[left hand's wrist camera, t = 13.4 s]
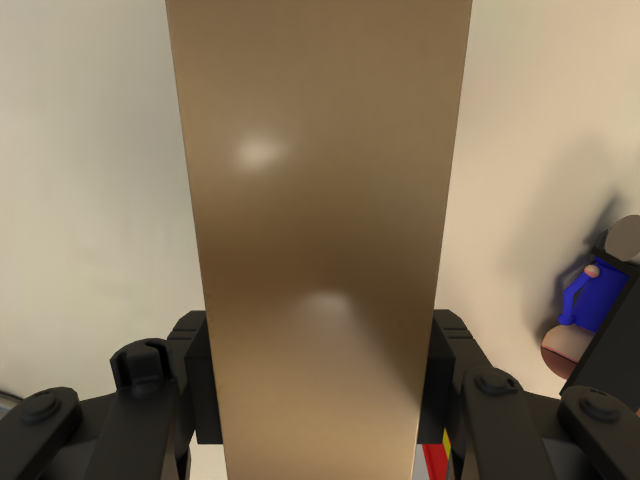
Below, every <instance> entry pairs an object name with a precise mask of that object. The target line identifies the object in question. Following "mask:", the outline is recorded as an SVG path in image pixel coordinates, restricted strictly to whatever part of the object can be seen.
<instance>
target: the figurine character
mask: <svg viewBox="0 0 640 480" xmlns="http://www.w3.org/2000/svg"><path fill="white" fill-rule="evenodd" d="M604 244H605V250H604V249H603V247H604ZM590 253H591V255H590V258H589V264H590V265H588V266H587V267H585V269H584V272H583V273H582V274H581V275H580V276H579V277H578V278H577V279H575V280H574V281H573V282H572V283H571V284H570V285H569V286H568V287H567V288H566V289H565V290H564V291H563V311H562V314H561V315H559V316H558V322H559V323H560V324H562V325H559V326H556V327H554V328H552V329H551V330H549V331H548V332H547V333H546V334H545V336H544V337H543V339H542V342H541V354H542V357H543V360H544V362H545V363H546V365H547V366H548V367H549V368H550V369H551V370H552V371H553V372H554V373H555V374H557V375H558V376H560V377H561V378H563V379H566V380H567V381H566V383H565V385H564V386H563V388H562V390H561V391H560V393H559V395H560V396H561V397H562V393H563V391H564V390H565V389H566V388H568V387H570V386H576V385H580V386H588V387H592V388H595V389H599V390H601V391H604V392H606V393H608V394H610V395H612V396H614V397H616V398H617V399H619V400H620V401H621V402H623V403H624V404H625V405H626V406H628V407H629V408H630V409H631V410H632V411H633V412H634V413H635V414H636V412H637V411H638V409H639V408H640V216H639V215H630V216H627V217H624V218H622V219H621V220H619V221H618V222H617V223H616V224H615V225H614V226H613V227H612V228H611V230H610V231H609V233H608V229H607V230H606V231H604V232H603V233H602V234H600V237H599V239H598V241H597V243H596V245H595V247H594V248H593V249H592V251H591V252H590ZM595 262H597V263H599V264H597V263H595ZM593 263H594V265H592V264H593ZM583 285H584V286H583ZM582 286H583V288H582V290H581V292H580V294H579V296H578V298H577V300H576V302H575V304H574V307H573V295H574V294H575V293H576V292H577V291H578V290H579V289H580V288H581V287H582ZM573 323H574V324H576V325H574V324H573Z"/></svg>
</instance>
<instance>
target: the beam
mask: <svg viewBox="0 0 640 480" xmlns="http://www.w3.org/2000/svg"><path fill="white" fill-rule="evenodd" d="M472 1H473V0H165V3H166V10H167V18H168V26H169V33H170V41H171V49H172V56H173V64H174V72H175V79H176V87H177V95H178V102H179V110H180V117H181V125H182V133H183V140H184V148H185V156H186V163H187V171H188V179H189V186H190V194H191V202H192V209H193V217H194V225H195V232H196V240H197V248H198V255H199V263H200V271H201V278H202V286H203V293H204V301H205V309H206V316H207V324H208V332H209V339H210V347H211V355H212V362H213V370H214V378H215V385H216V393H217V401H218V408H219V416H220V424H221V431H222V439H223V447H224V454H225V462H226V469H227V477H228V480H412V477H413V469H414V461H415V453H416V445H417V437H418V429H419V422H420V414H421V406H422V398H423V390H424V382H425V374H426V366H427V358H428V350H429V342H430V334H431V326H432V318H433V311H434V303H435V295H436V287H437V279H438V271H439V263H440V255H441V247H442V239H443V231H444V223H445V215H446V207H447V199H448V192H449V184H450V176H451V168H452V160H453V152H454V144H455V136H456V128H457V120H458V112H459V104H460V96H461V88H462V81H463V73H464V65H465V57H466V49H467V41H468V33H469V25H470V17H471V9H472Z"/></svg>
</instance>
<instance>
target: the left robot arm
mask: <svg viewBox="0 0 640 480" xmlns="http://www.w3.org/2000/svg"><path fill="white" fill-rule="evenodd" d="M110 364H111V368H112V372H113V376H114V380H115V384H116V388H117V391H116V392H115V393H112V394H108V395H105V396H100V397H96V398H92V399H87V400H83V401H79V398H78V394H77V392H75V391H74V390H73V389H72V388H67V387H57V388H50V389H47V390H44V391H40V392H38V393H35V394H33V395H31V396H30V397H28V398H26V399H24V400H22V401H21V400H19V399H16V398H13V397H11V396H8V395H4V394H0V480H189V478H190V467H191V454H190V448H189V444H190V441H191V438H192V436H193V433H194V431H196V437H197V443H198V444H223V439H222V431H221V424H220V416H219V408H218V401H217V393H216V385H215V378H214V370H213V362H212V355H211V347H210V339H209V332H208V324H207V316H206V311H190V312H189V313H187V314H186V315H185V316H183V317H182V318H180V319H179V320H178V322H177V324H176V325H175V327H174V328H173V331H172V332H171V333H170V334H169V336H168V337H167V340H163V339H160V338H147V339H143V340H138V341H135V342H133V343H130V344H128V345H126V346H124V347H122V348H121V349H120V350H118V351H117V352H116V353H115V354H114V355H113V356H112V358H111V359H110ZM444 429H445V430H446V432H447V435H448V437H449V440H450V442H451V448H450V454H449V460H448V465H447V471H446V478H445V480H450V477H451V480H640V418H639V417H638V416H637V415H636V414H635V413H634V412H633V411H632V410H631V409H630V408H629V407H628V406H626V405H625V404H624V403H623V402H621V401H620V400H619V399H617V398H616V397H614V396H612V395H610V394H608V393H606V392H604V391H601V390H599V389H595V388H592V387H588V386H580V385H576V386H570V387H568V388H566V389H565V390H564V391H563V393H562V397H561V400H559V399H555V398H550V397H546V396H542V395H537V394H533V393H530V392H526V391H524V390H523V388H522V386H521V385H520V383H519V382H518V381H517V380H516V379H515V378H514V377H512V376H511V375H510V374H508V373H506V372H504V371H502V370H500V369H498V368H494V367H493V366H492V365H491V363H490V362H489V360H488V359H487V357H486V356H485V354H484V353H483V351H482V350H481V348H480V347H479V345H478V344H477V342H476V341H475V339H473V336H472V335H471V333H470V331H469V330H467V327H466V325H465V324H464V322H463V321H462V319H461V318H460V317H458V316H457V315H456V314H454V313H453V312H451V311H450V310H449V309H434V311H433V318H432V326H431V334H430V342H429V350H428V358H427V366H426V374H425V382H424V390H423V398H422V406H421V414H420V422H419V429H418V437H417V444H442V442H443V436H444Z"/></svg>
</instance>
